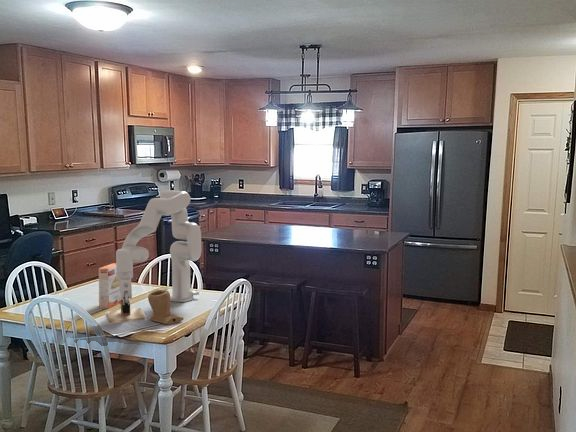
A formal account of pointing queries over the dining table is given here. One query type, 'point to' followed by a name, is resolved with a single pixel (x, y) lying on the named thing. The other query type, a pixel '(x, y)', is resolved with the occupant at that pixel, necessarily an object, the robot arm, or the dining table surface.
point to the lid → (125, 315)
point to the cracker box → (108, 287)
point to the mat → (122, 322)
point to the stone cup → (162, 307)
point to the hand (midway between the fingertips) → (125, 310)
